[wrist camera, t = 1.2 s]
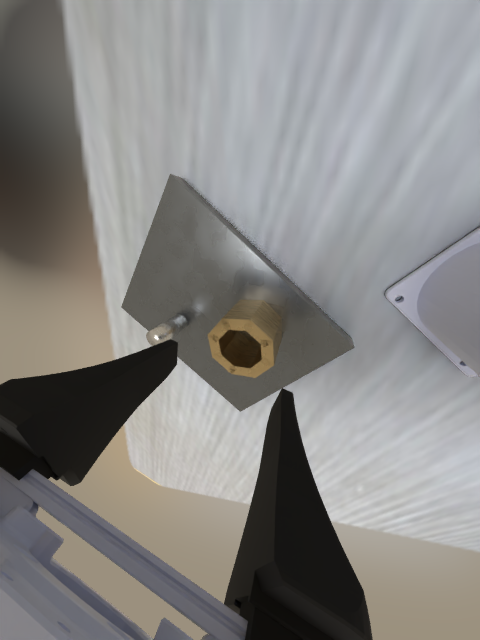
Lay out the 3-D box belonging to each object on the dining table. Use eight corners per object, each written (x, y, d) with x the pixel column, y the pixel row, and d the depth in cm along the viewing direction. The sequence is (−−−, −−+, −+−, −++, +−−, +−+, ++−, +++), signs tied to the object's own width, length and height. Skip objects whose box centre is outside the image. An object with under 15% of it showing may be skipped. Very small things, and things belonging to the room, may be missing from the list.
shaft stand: (351, 338, 16) (365, 382, 12) (243, 402, 25) (228, 442, 21) (181, 177, 15) (125, 158, 11) (131, 302, 24) (88, 321, 20)
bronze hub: (294, 328, 16) (289, 355, 13) (256, 357, 19) (244, 385, 16) (250, 288, 16) (233, 304, 13) (219, 323, 19) (198, 344, 15)
